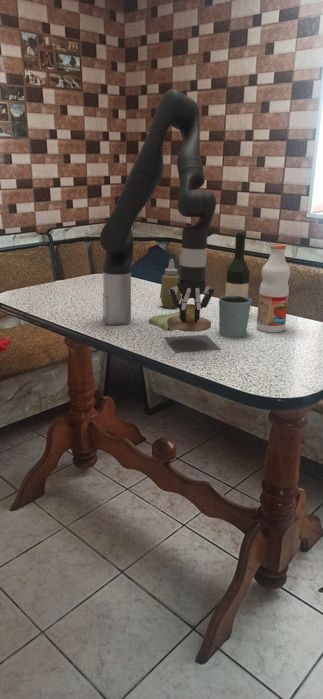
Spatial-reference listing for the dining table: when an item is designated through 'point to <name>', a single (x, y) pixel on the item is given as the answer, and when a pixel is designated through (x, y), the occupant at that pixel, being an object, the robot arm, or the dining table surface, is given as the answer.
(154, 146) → the robot arm
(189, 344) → the mat
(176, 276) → the squeeze bottle
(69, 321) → the dining table surface
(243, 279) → the wine bottle
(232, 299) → the grey-blue cup
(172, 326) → the lid
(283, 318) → the fruit juice
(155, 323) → the washcloth
